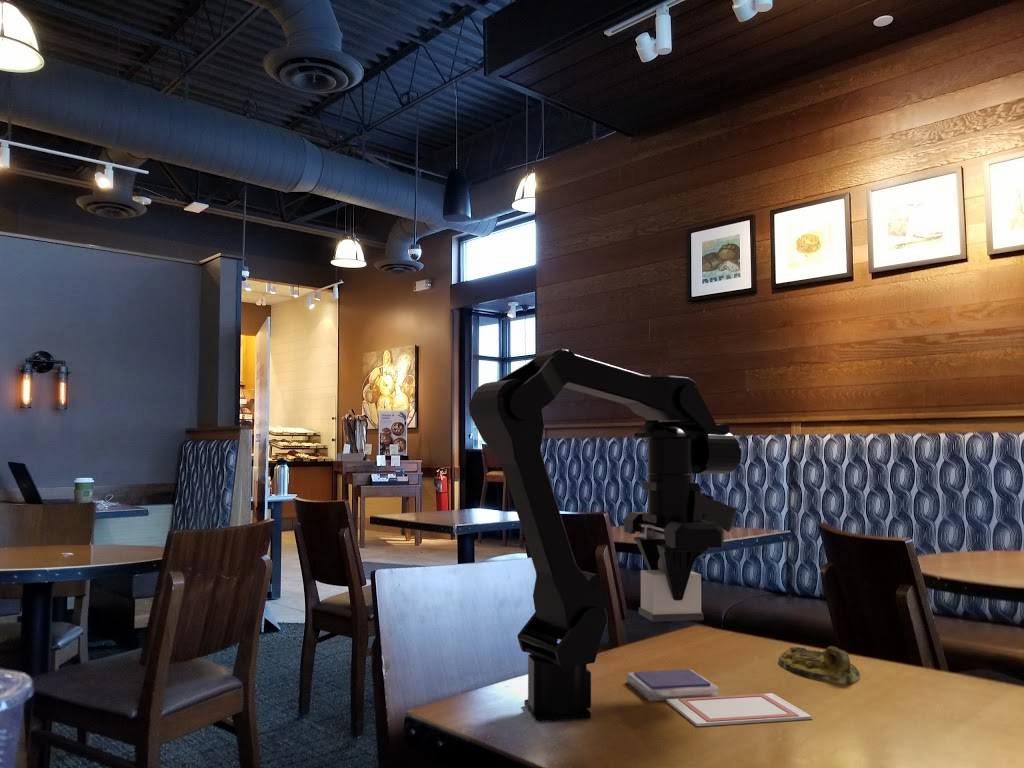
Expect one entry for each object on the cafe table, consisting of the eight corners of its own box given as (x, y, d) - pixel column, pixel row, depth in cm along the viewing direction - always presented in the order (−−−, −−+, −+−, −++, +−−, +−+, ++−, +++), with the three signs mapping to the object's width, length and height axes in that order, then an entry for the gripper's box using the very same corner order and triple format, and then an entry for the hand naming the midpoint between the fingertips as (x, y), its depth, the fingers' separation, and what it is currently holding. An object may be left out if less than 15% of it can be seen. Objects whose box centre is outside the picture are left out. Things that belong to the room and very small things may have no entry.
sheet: (696, 726, 87) (696, 722, 87) (666, 701, 95) (666, 698, 95) (811, 719, 90) (811, 715, 90) (772, 695, 98) (772, 692, 98)
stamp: (703, 620, 99) (703, 553, 100) (652, 621, 98) (652, 554, 99) (687, 612, 104) (687, 549, 105) (638, 613, 103) (638, 549, 103)
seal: (761, 665, 117) (821, 695, 102) (757, 633, 117) (816, 658, 103) (817, 655, 119) (884, 683, 104) (813, 623, 119) (879, 647, 105)
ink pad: (649, 701, 95) (649, 688, 96) (626, 681, 103) (626, 670, 103) (718, 697, 97) (718, 685, 97) (691, 678, 105) (691, 667, 105)
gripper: (763, 477, 95) (765, 609, 94) (697, 472, 113) (697, 583, 112) (676, 476, 93) (677, 612, 91) (623, 472, 111) (622, 585, 110)
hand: (670, 596), depth 101 cm, fingers closed on stamp, 4 cm apart
